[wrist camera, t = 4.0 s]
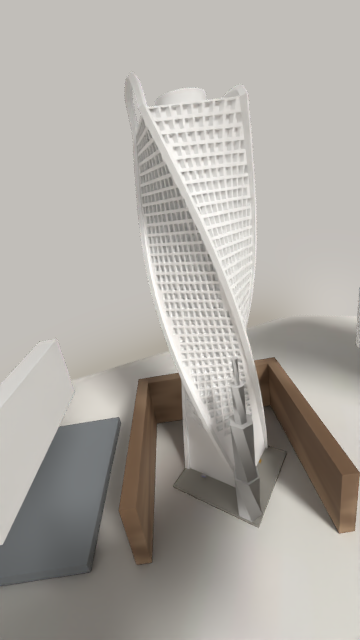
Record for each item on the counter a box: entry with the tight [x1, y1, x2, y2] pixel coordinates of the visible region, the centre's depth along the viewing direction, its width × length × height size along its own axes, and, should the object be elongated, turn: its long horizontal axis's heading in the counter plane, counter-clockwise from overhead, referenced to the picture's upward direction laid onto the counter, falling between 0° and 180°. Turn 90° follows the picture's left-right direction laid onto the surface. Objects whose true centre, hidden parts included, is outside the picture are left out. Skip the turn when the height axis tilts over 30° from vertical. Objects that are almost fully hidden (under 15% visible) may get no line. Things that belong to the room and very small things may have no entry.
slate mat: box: [0, 417, 121, 586], centre depth 25 cm, size 16×14×1 cm
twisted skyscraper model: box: [125, 71, 287, 528], centre depth 20 cm, size 8×8×28 cm
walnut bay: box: [119, 357, 360, 565], centre depth 24 cm, size 14×14×5 cm
